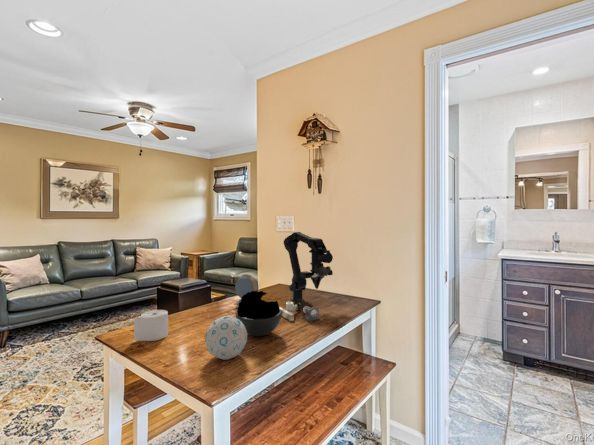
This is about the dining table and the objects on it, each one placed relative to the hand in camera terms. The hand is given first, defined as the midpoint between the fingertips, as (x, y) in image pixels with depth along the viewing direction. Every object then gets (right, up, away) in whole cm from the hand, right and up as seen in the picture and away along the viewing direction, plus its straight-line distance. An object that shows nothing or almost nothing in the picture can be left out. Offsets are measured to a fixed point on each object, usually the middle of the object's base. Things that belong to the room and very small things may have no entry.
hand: (316, 288), depth 171 cm
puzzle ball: (-37, -13, -59) cm, 71 cm away
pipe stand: (-4, -11, -17) cm, 21 cm away
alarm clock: (-41, -11, +8) cm, 43 cm away
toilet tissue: (-73, -13, -40) cm, 84 cm away
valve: (-13, -12, -9) cm, 19 cm away
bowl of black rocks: (-28, -12, -38) cm, 48 cm away
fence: (-18, -11, -13) cm, 25 cm away
